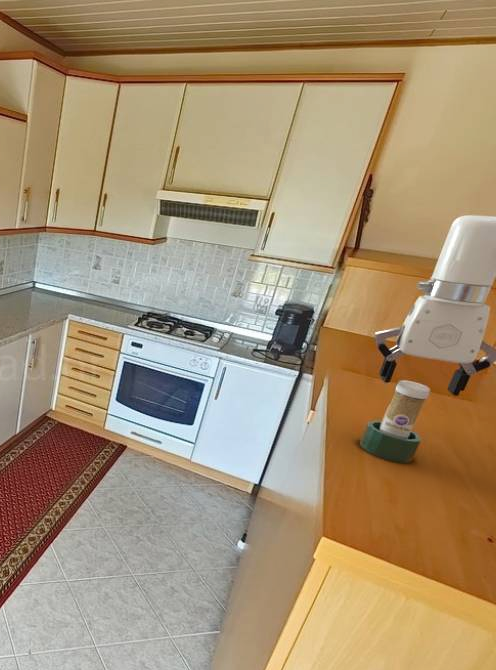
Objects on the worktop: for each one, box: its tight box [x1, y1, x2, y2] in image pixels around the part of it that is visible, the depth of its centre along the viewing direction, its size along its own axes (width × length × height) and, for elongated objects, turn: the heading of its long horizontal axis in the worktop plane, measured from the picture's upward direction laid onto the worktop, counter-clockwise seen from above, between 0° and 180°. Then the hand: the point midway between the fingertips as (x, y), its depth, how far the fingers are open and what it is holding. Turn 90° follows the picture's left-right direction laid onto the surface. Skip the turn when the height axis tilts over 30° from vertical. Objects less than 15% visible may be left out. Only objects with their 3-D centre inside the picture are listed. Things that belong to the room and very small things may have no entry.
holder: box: [359, 420, 423, 464], centre depth 92 cm, size 8×8×4 cm
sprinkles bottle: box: [379, 379, 431, 439], centre depth 90 cm, size 5×5×13 cm
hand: (417, 386), depth 88 cm, fingers open, 9 cm apart
